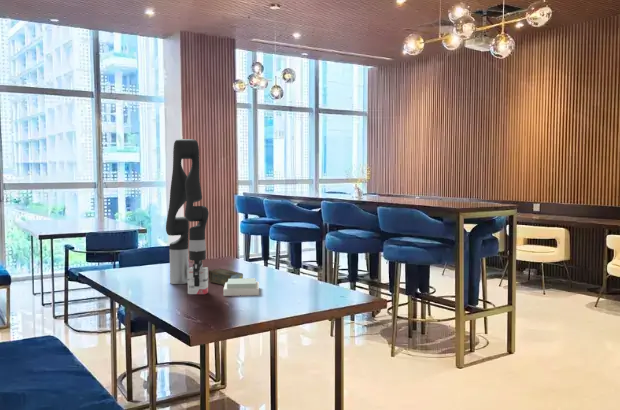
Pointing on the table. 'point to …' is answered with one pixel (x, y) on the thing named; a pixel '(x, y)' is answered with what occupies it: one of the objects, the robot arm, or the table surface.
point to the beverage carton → (223, 276)
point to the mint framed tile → (241, 287)
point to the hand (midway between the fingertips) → (197, 284)
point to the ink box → (202, 281)
